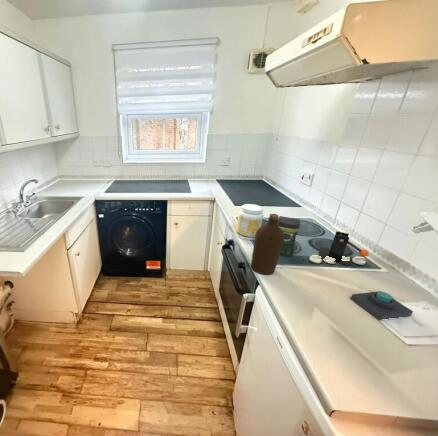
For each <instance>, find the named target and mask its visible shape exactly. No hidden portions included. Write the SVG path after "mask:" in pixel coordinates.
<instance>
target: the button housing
mask: <svg viewBox="0 0 438 436" xmlns="http://www.w3.org/2000/svg"><path fill="white" fill-rule="evenodd" d="M380 291H381V290H379V291H369V292H359V293H353V294H351V296H350V298H349V299H350V301H352V303H354V304H356V305H357V306H359V307H360V308H362V309H363V310H364V311H365V312H367V313H368V314H369V315H370V316H371V317H373V318H375V319H376V320H377V321H383V320H382V319H388V320H390V319H389V318H395V319H400V318H399V317H403V318H409V316H410V317H411V316H412V314H413V313H414V311H413V310H412V309H410V308H408V307H407V306H405V305H404V304H402V303H401V302H399V301H398V300H396V299H395V298H393V297H392V300H391V302H390V303H387V302H383V301H381V300H379V299H377V298H376V295H377V293H378V292H380ZM381 292H383V291H381Z"/></svg>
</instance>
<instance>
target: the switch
mask: <svg viewBox="0 0 438 436" xmlns="http://www.w3.org/2000/svg"><path fill="white" fill-rule="evenodd" d="M339 235H342V236H344V235H343V234H341V233H340V234H339ZM347 246H350V248H351V247H352V248H353V249H354V250H355V251H357V252H358V255H359V256H360V257H362V258H366V257H368V256H370V255H369V254H370V252H369V251H368V249H361V247H359V246H357V245H355V244H354V243H353V242H351V241H350V240H348V243H347Z"/></svg>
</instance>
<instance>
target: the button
mask: <svg viewBox="0 0 438 436" xmlns="http://www.w3.org/2000/svg"><path fill="white" fill-rule="evenodd" d="M379 291H380V292H378V293H377V295H376V298H377V299H379V300H381V301H383V302H387V303H390V302H391V300H392V298H393V295H391V294H389V293H387V292H385V291H382V292H381V290H379Z"/></svg>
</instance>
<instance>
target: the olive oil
mask: <svg viewBox="0 0 438 436" xmlns="http://www.w3.org/2000/svg"><path fill="white" fill-rule="evenodd" d="M279 217H280V216H279V214H277V213H270V214H269V217H268V218H267V219H268V220H267V223H265V224H262V226H261V227H260V228H259V229H258V230H257V232H256V234H255V240H253V249H252V254H251V261H250V268H251V270H252V271H254V272H255V273H257V274H259V275H264V276H271V275H273V274H275V272H276V268H277V264H278V261H279V258H280V252H281V249H282V246H283V243H284V234H283V232H282V230H281V229H280V228H279V226H278V225H277V223H278V218H279Z"/></svg>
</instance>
